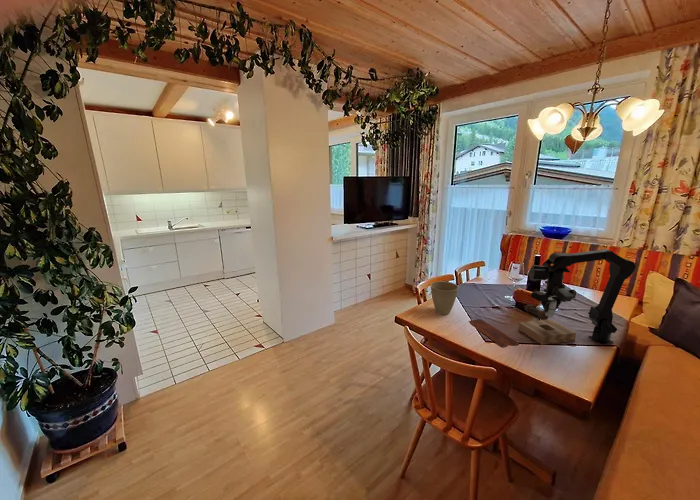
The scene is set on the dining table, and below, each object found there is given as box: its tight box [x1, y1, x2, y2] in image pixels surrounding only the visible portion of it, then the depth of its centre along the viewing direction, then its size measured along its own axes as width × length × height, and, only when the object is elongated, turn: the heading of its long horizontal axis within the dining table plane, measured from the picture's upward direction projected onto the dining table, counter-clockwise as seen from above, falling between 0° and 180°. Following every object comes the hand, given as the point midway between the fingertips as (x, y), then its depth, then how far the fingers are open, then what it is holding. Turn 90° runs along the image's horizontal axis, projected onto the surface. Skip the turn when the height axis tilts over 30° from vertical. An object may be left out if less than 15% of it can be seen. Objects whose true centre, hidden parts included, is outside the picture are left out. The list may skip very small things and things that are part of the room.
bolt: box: [523, 303, 549, 320], centre depth 161 cm, size 6×5×15 cm
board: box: [518, 318, 577, 346], centre depth 139 cm, size 18×14×4 cm
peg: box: [545, 297, 557, 318], centre depth 136 cm, size 4×4×8 cm
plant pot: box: [430, 280, 460, 316], centre depth 163 cm, size 15×15×16 cm
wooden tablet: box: [468, 318, 520, 348], centre depth 143 cm, size 27×10×2 cm, turn 13°
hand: (549, 311), depth 136 cm, fingers closed on peg, 4 cm apart
